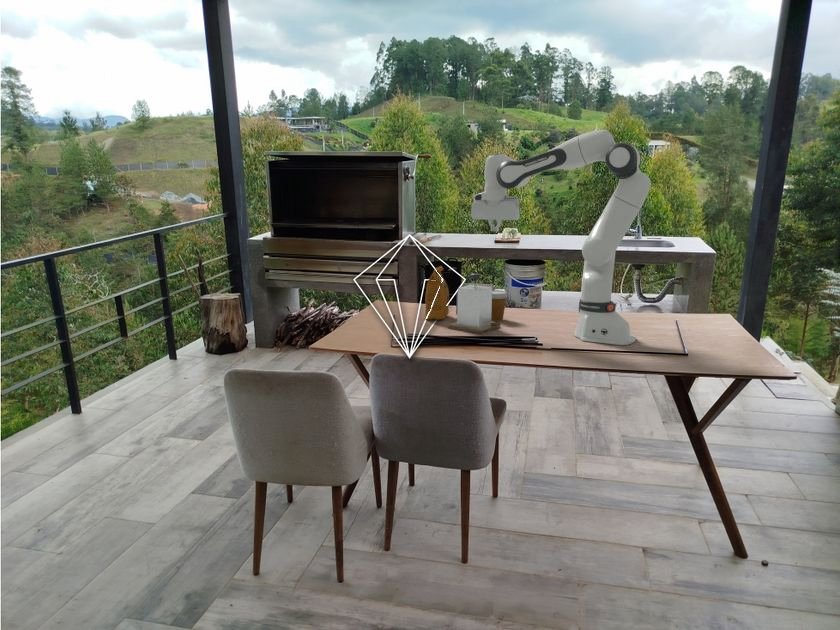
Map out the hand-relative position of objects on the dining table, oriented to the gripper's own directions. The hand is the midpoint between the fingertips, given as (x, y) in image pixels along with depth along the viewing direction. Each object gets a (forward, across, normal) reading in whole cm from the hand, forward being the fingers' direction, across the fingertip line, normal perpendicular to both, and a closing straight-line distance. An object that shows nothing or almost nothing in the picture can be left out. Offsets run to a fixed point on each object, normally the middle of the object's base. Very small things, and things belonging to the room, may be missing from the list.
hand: (494, 231), depth 242 cm
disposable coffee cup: (+39, +4, -8) cm, 40 cm away
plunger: (+35, +4, +9) cm, 36 cm away
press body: (+38, +4, +10) cm, 40 cm away
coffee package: (+38, +26, +3) cm, 46 cm away
